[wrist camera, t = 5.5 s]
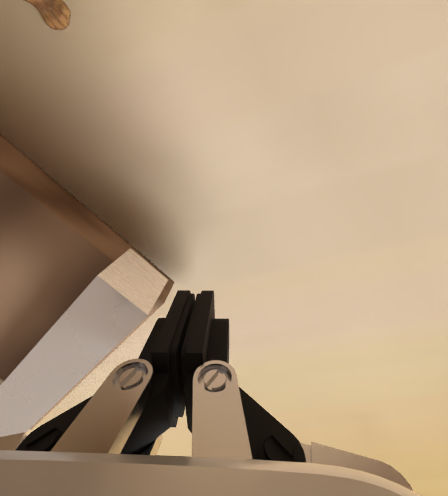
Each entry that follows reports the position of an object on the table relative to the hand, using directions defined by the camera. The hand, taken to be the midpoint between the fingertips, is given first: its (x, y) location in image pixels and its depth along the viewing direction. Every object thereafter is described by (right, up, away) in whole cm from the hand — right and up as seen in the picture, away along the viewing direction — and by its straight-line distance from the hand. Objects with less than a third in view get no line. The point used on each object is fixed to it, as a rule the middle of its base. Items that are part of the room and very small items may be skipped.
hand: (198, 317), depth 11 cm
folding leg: (-8, -3, +3) cm, 9 cm away
